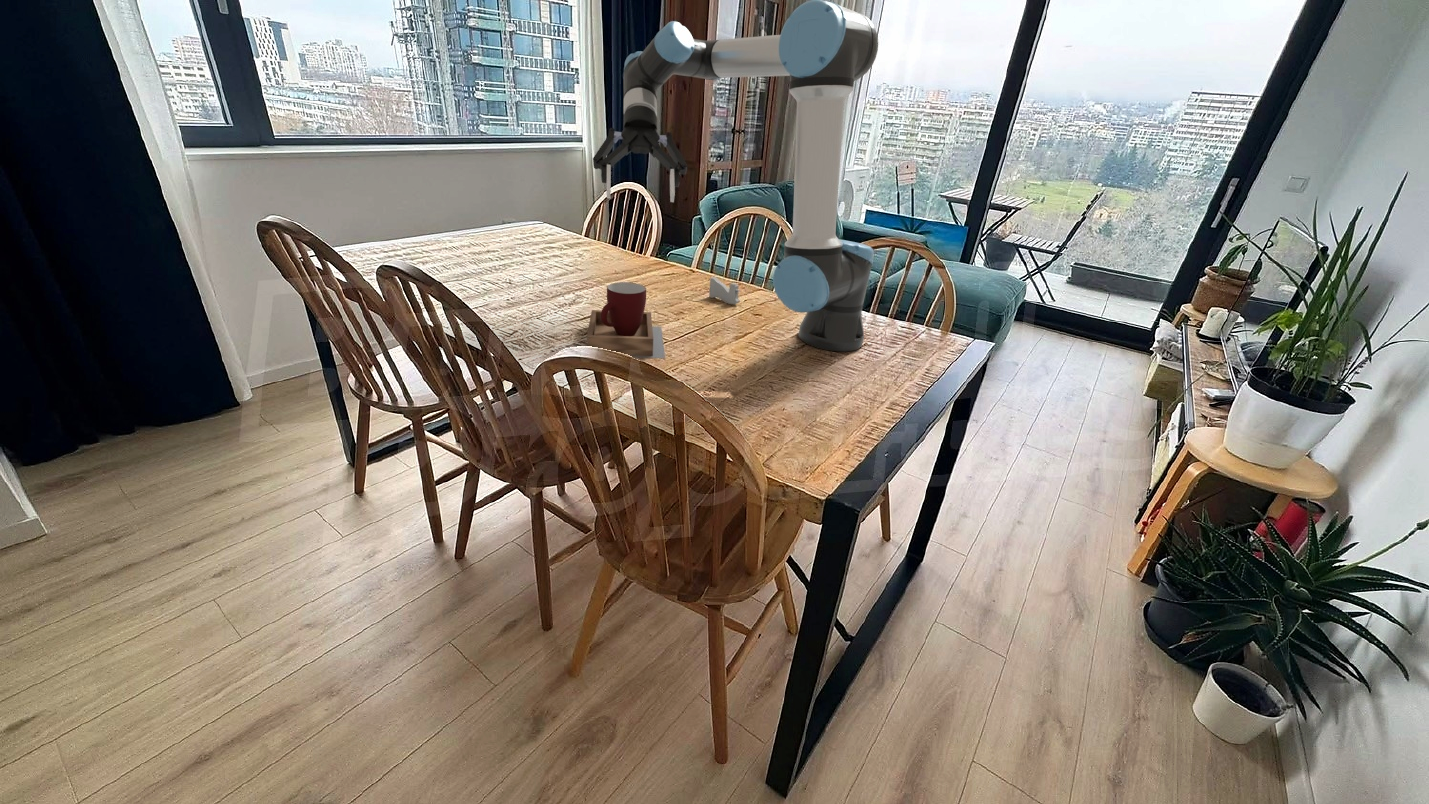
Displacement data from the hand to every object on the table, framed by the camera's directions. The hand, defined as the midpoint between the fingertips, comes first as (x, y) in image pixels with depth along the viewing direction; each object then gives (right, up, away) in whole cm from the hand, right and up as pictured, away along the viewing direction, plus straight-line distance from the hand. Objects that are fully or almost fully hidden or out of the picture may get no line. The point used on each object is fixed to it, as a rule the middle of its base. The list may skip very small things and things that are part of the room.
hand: (640, 196), depth 122 cm
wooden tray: (-4, -31, 0) cm, 31 cm away
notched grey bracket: (+18, -17, +33) cm, 42 cm away
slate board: (-3, -32, 0) cm, 32 cm away
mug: (-4, -30, -1) cm, 30 cm away
